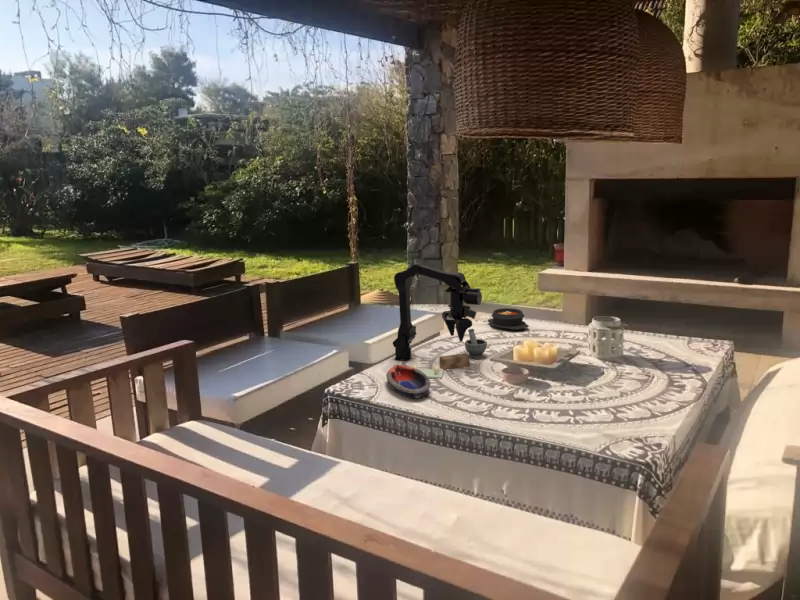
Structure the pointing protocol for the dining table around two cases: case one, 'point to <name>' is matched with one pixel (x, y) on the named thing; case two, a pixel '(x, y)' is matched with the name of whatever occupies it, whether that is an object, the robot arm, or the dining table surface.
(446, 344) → the dining table surface
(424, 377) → the dish
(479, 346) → the mortar and pestle
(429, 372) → the strip
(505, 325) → the casserole
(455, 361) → the brown rectangular block
